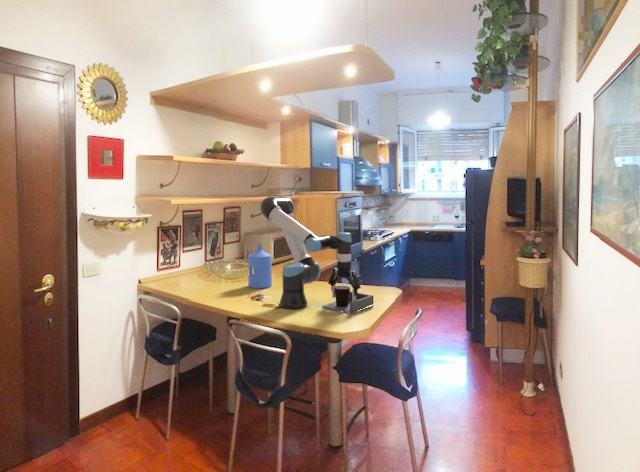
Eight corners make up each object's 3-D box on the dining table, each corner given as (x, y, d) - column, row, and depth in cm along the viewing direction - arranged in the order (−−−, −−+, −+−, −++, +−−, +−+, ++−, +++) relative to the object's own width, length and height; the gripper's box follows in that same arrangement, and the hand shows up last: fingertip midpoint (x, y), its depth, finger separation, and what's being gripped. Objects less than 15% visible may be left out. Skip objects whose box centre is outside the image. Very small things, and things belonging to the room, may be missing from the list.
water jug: (274, 283, 291) (273, 243, 288) (269, 289, 276) (268, 246, 273) (251, 283, 293) (251, 243, 290) (245, 288, 277) (244, 246, 274)
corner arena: (352, 314, 220) (352, 302, 219) (322, 307, 233) (322, 296, 232) (373, 306, 235) (373, 295, 235) (344, 300, 248) (344, 290, 247)
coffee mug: (346, 308, 228) (346, 289, 227) (331, 306, 232) (331, 288, 230) (354, 303, 238) (354, 285, 237) (340, 301, 242) (340, 284, 241)
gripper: (367, 262, 227) (366, 301, 229) (330, 257, 243) (330, 294, 245) (359, 264, 221) (358, 304, 223) (322, 259, 237) (322, 296, 239)
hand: (344, 299), depth 234 cm, fingers open, 13 cm apart
